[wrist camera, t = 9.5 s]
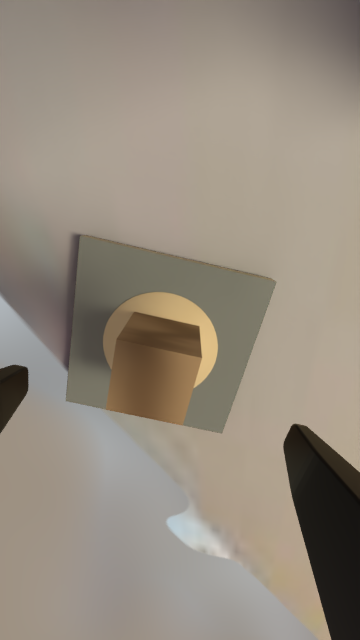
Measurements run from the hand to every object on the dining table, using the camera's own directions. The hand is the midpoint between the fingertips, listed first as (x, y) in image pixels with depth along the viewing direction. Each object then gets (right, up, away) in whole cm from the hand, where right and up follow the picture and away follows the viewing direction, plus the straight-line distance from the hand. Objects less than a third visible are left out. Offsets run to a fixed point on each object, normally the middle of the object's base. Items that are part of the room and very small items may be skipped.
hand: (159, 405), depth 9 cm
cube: (-1, +1, +12) cm, 12 cm away
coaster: (-1, +1, +13) cm, 13 cm away
